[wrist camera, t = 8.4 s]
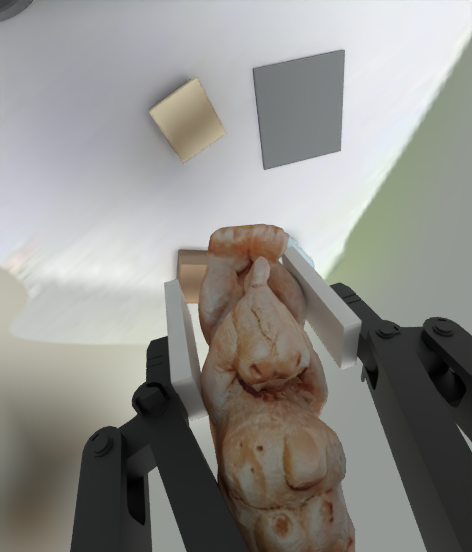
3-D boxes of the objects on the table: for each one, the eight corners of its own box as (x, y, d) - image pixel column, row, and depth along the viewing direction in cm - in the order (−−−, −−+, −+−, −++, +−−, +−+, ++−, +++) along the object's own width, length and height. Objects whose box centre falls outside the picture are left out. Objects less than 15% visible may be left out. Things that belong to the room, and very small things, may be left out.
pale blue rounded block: (261, 240, 40) (276, 261, 35) (294, 230, 40) (314, 250, 35) (265, 269, 43) (280, 292, 38) (296, 260, 43) (314, 281, 38)
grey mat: (252, 68, 29) (253, 68, 28) (342, 50, 30) (344, 49, 29) (263, 169, 34) (264, 169, 34) (338, 150, 35) (340, 150, 35)
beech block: (149, 109, 28) (149, 112, 24) (190, 79, 28) (196, 77, 24) (179, 154, 31) (183, 163, 27) (216, 128, 31) (226, 133, 27)
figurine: (270, 201, 17) (544, 451, 5) (262, 298, 22) (406, 564, 9) (169, 208, 16) (226, 562, 4) (181, 310, 20) (228, 638, 8)
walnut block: (178, 249, 37) (181, 264, 34) (208, 250, 39) (213, 265, 35) (175, 286, 41) (178, 303, 37) (203, 286, 42) (207, 303, 38)
